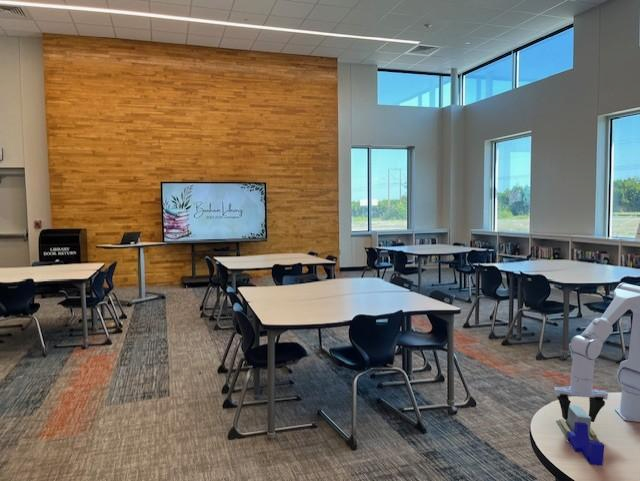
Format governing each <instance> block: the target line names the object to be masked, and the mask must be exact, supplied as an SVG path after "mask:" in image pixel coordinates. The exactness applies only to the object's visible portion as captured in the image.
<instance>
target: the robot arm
mask: <svg viewBox="0 0 640 481" xmlns="http://www.w3.org/2000/svg"><path fill="white" fill-rule="evenodd" d="M628 310H629V311H631V312H632V315H633V316H632V322H631V330H630V339H629V340H630V341H629V349H628V357H627V359H625V360H622V361H621V362H619V367H618V370H617V372H616V381H617V383H618V384H619V387H620V388H621V394H620V395H621V396H620V403H619V404H620V405H619V407H614V410H615V411H616V413H618V415H619V416H620V418H622V420H624V421H628V422H634V423H635V422H637V423H640V285H635V284H632V283H631V284H630V283H627V282H621V283H620V282H619V284H618V285H617V286H616V287H615V289H614V290H613V298H612V301H611V302H610V304H609V305H608V307H606V310H605V311H604V312H603V314H602V315H601V316H600V317H596V318H594V319H593V320H592V321H591V322H590V323H589V325H588V326H587V327H586V328H585V329H584V331H583V332H581V334H579V335H578V334H577V335H575V336H573V337H572V338H571V340H570V343H569V344H568V348H569V352H570V358H571V359H572V362H571V365H572V366H571V375H570V385H569V386H561V387H557V386H556V387H555V386H554V387H553V394H554V395H555V396H556V397H557V400H558V403H559V405H560V410H561V417H562V419H563V420H564V421H566V420H567V419H568V410H569V405H571V402H572V401H571V400H570V399H569V397H578V398H588V402H589V411H588V415H589V416H590V417H591V422H592V423H595V420H596V417H597V415H598V414H599V413H600V411H601V409H602V408H603V407H605V405H606V401H605V400H608V398H609V394H608V392H607V391H606V390H601V389H594V388H593V385H594V384H593V382H594V372H595V363H596V359H597V358H598V357H599V356H600V355H601V353H602V352H601V351H602V348H603V346H604V344H603V343H604V342H605V341H606V340H607V338H608V337H609V336H610V335H611V334H612V332H613V330H614V329H613V324H615V323H616V322H617V321H619V319H620V318H621V317H622V316H623V315H624V314H625V313H626V312H627V311H628Z"/></svg>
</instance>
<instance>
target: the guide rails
mask: <svg viewBox="0 0 640 481" xmlns="http://www.w3.org/2000/svg"><path fill="white" fill-rule="evenodd" d="M558 421H559V423H560V425H561V426H562V428H563V430H564V431H565V433H566V435H568V431H570V429H569V428H568V426H567V424H566V423H565V421H566V420H564V418H562V419H561V418H559V419H558ZM590 436H591V438H595V439H596V437H597V434H596V433H595V431H594V429H593V428H592V426H590ZM597 438H598V437H597Z"/></svg>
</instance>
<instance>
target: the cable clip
mask: <svg viewBox="0 0 640 481" xmlns="http://www.w3.org/2000/svg"><path fill="white" fill-rule="evenodd" d="M566 439H567V440H568V441H567V443H569V445H570V446H571V447H572V449H573V450H574V451H575V453H581V454H582V455H583V457H584V458H585V460H586V461H587V462H588V464H589V465H590V466H599V467H603V464H604V454H605V444H604V443H603V441H602V442H601V441H599V442H598V441H590V440H589V437H588V425H587V424H586V423H581V422H575V424H574V432H571V431H568V438H566Z"/></svg>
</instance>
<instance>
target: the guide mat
mask: <svg viewBox="0 0 640 481" xmlns="http://www.w3.org/2000/svg"><path fill="white" fill-rule="evenodd" d="M555 421H556V423H557V425H558V426H559V428H560V430H561V432H562V434H563V435H564V437H565V438H566V439H568V435H566V433H565V431H564V430H563V428H562V426H561V425H560V423H559V419H558V420H555ZM564 421H565V422H566V420H564ZM568 428H569V427H568ZM569 429H570V428H569ZM570 431H571V432H572V430H571V429H570ZM589 441H593V442H600V440H599V438H598V437H596V439H595V438H591V436H589Z"/></svg>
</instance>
